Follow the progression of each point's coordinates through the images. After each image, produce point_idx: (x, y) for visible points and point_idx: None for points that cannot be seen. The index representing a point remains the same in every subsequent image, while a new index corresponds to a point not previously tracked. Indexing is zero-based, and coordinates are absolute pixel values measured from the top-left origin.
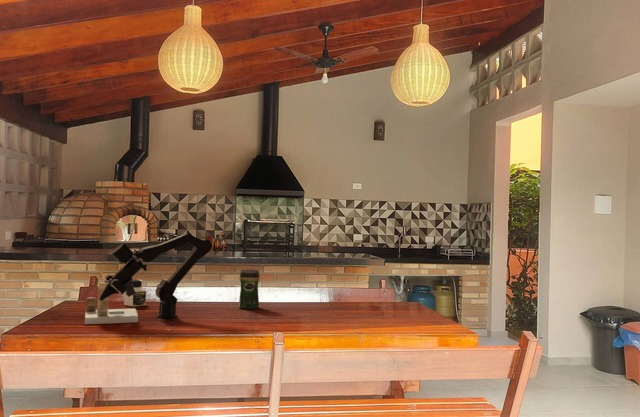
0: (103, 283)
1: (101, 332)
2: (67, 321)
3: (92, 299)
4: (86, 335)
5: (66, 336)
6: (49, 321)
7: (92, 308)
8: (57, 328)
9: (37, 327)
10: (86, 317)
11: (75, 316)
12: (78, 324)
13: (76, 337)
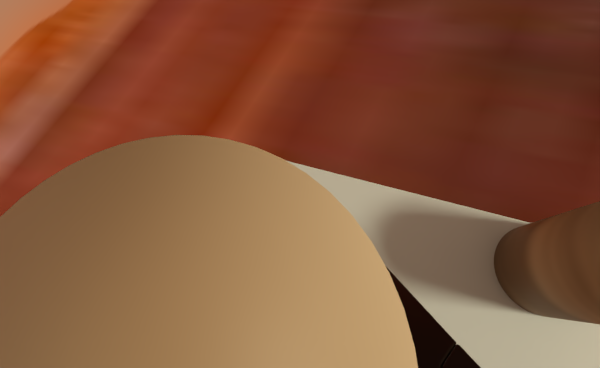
0: (39, 312)
1: (14, 192)
2: (401, 104)
3: (577, 255)
4: (11, 115)
5: (55, 43)
6: (441, 27)
7: (511, 267)
8: (238, 35)
9: None
10: None
11: (569, 180)
12: (282, 138)
13: (9, 72)
